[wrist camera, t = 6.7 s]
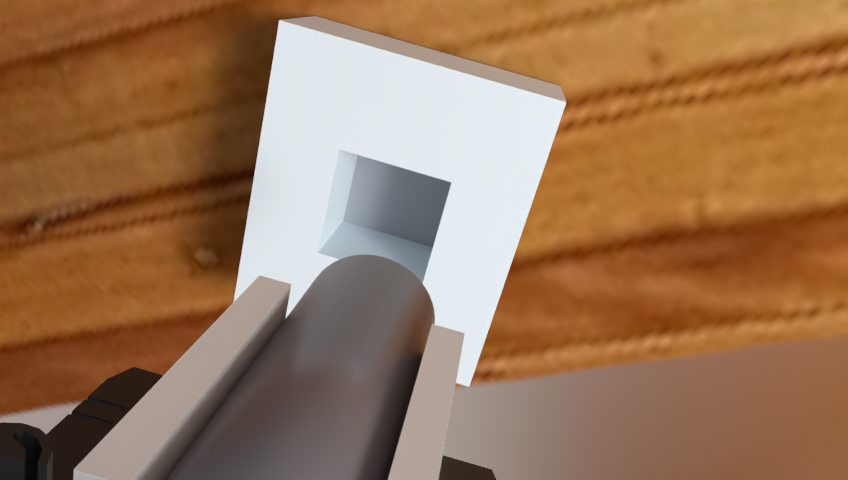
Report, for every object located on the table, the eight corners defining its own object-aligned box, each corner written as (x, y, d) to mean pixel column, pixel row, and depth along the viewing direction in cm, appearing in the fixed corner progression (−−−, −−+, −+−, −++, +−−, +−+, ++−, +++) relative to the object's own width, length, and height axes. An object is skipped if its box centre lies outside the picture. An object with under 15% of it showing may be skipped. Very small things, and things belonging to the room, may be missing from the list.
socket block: (269, 273, 36) (231, 314, 32) (315, 15, 31) (279, 20, 26) (476, 335, 36) (469, 386, 31) (560, 85, 30) (566, 102, 26)
